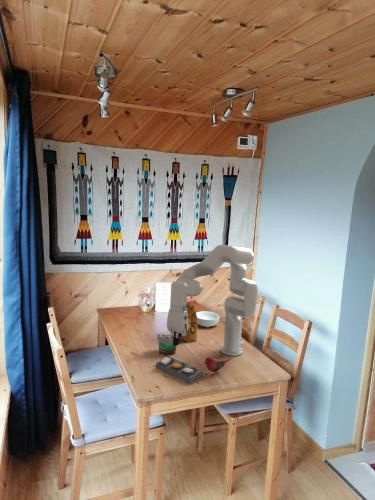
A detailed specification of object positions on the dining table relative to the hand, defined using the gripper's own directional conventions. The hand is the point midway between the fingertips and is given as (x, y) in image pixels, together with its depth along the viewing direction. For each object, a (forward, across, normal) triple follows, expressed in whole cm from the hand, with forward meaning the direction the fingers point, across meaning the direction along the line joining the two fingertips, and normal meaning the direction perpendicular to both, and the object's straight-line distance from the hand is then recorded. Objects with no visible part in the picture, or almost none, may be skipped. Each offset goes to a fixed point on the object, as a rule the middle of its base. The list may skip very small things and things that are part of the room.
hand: (176, 344), depth 177 cm
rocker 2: (+11, -7, -1) cm, 13 cm away
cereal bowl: (+15, +30, -67) cm, 75 cm away
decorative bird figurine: (+15, -14, -16) cm, 26 cm away
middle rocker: (+11, 0, -1) cm, 11 cm away
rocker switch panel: (+15, 0, -3) cm, 16 cm away
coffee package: (+15, +24, -39) cm, 49 cm away
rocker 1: (+11, +7, -1) cm, 13 cm away
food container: (+15, +19, -14) cm, 28 cm away
